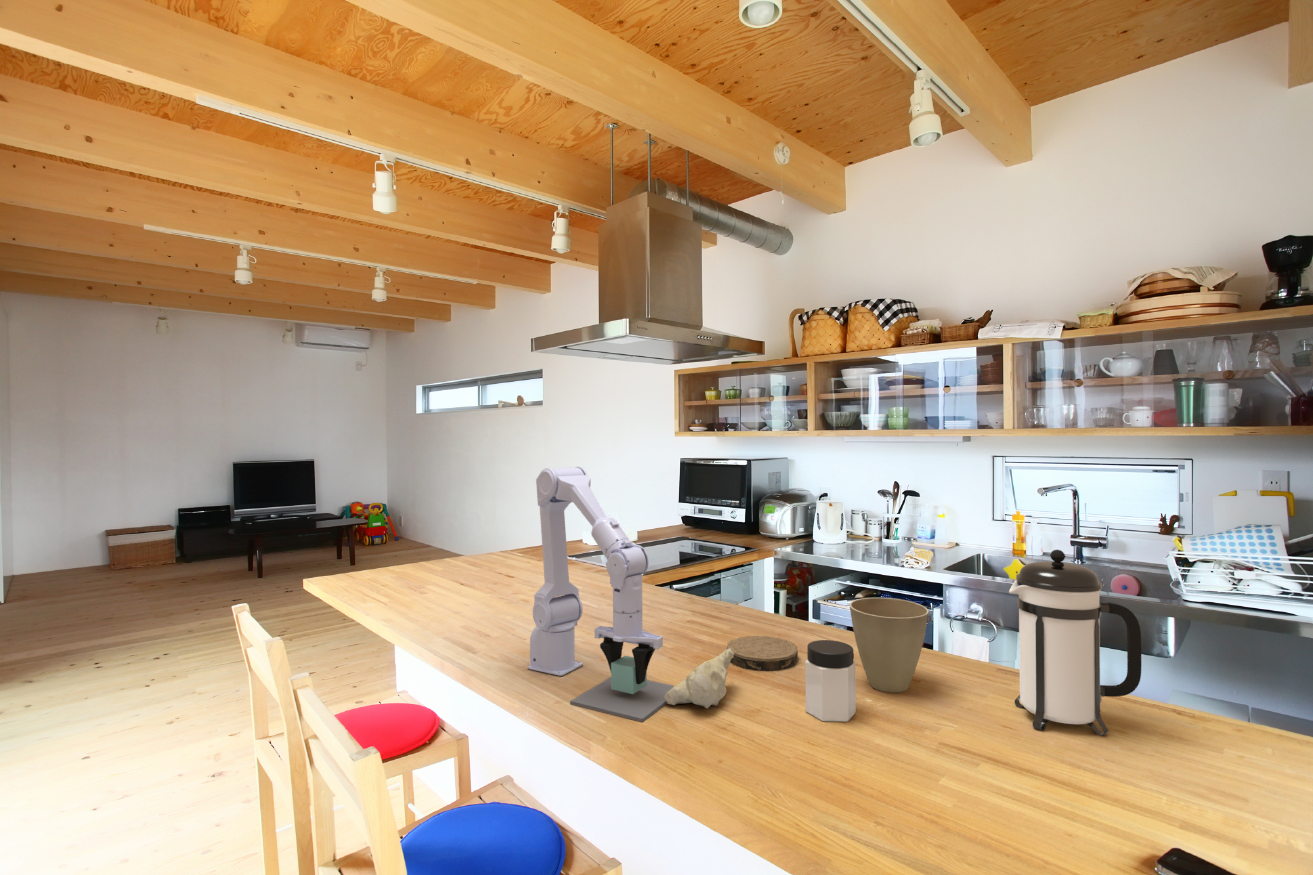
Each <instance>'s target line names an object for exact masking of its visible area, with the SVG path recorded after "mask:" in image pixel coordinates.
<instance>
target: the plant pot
mask: <svg viewBox="0 0 1313 875" xmlns="http://www.w3.org/2000/svg"><path fill="white" fill-rule="evenodd" d="M849 610H850V617H851V623H852V629H853V634H854V638H855V643H856V646H857V651H858V654H859V658H860V661H861V664H862V667H863V670H864V673H865V676H866V678H867V682H868V684H869V685H870V687H872V688H873V689H876V690H878V691H880V692H885V693H895V694H896V693H903V692H906V691H907V690H908V689H909V686H910V685H911V681H913V676H914V674H915V671H916V669H917V666H918V662H919V660H920V656H921V652H922V648H923V645H924V641H925V636H926V630H927V623H928V617H929V609H928V608H927V607H925V606H924V605H922V604H920V603H917V602H915V601H910V600H907V599H906V600H905V599H901V598H893V597H865V598H857V599H855V600H852V601H851V602H850V603H849Z"/></svg>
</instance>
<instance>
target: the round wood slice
mask: <svg viewBox="0 0 1313 875" xmlns="http://www.w3.org/2000/svg"><path fill="white" fill-rule="evenodd" d="M729 648H730V649H731V651H732V652H733V653H734V655H733V656H734V657H733V658H732V659H731V661H730V664H731V665H733V666H734V667H735V666H736V667H737V668H740V669H741V668H742V669H744V670H747V671H748V670H749V671H755V672H779V671H785V670H788V669H791V668H794V667H795V666H796V665H797V664H798V662H799V658H798V657H799V656H798V654H799V653H798V652H799V651H798V650H799V649H798V646H797V645H796V644H795V643H794V642H791V641H789V640H787V639H783V638H779V637H774V636H767V635H764V636H763V635H750V636H749V635H748V636H741V637H737V638H734V639H731V640H730V641H729V642H728V643H727V645H726V650H727V649H729Z"/></svg>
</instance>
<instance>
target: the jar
mask: <svg viewBox="0 0 1313 875" xmlns="http://www.w3.org/2000/svg"><path fill="white" fill-rule="evenodd" d="M806 648H807V655H806V656H807V659H806V660H805V663H804V664H805V665H804V667H805V669H804V670H805V676H804V677H805V711H806V713H808V714H810V715H811V716H813V717H814V718H816V719H818V720H820V721H822V722H839V723H845V722H848V723H849V721H850V720H851V719H852V717H853V716H854V715H855V714H856V712H857V706H856V705H857V704H856V703H857V702H856V701H857V700H856V699H857V698H856V696H857V695H856V694H857V693H856V692H857V691H856V686H857V685H856V679H857V678H856V661H854V658H855V654H854V647H853V646H852V645H850V644H848V643H846V642H844V641H843V642H842V641H838V640H832V639H820V640H818V639H817V640H813V641H811V642H809V643H808V644H807V647H806Z"/></svg>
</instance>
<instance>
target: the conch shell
mask: <svg viewBox="0 0 1313 875" xmlns="http://www.w3.org/2000/svg"><path fill="white" fill-rule="evenodd" d="M733 655H734V653H733V652H732V651H731V649H730V648H729V649H727V648H725V649H724V650H723V652H721V653H720V654H719V655H716V656H715V657H713V658H711V659H709V660H705V661H704V662H702V663H700V665H698V666H697V667H695V668H694V669H693V670H692V671H691V672H690V673H689V674H688V675H687V676H686V678H685V679H683V680H682V681H681V682H679V683H678V684H677V685H673V686H674V687H673V688H672V689H671V690H669V691H668V692H667V693H666V695H665V696H664V698H665V700H666V702H667V704H668V705H672V706H675V705H677V704H678V705H679V704H681V705H682V704H690V703H691V704H694V705H696V706H700V707H704V708H705V709H709V707H711V705H712V706H714V707H716V706H718V705H719V702H720V700H722V699H723V698H724V696H725V695H726V693H727V689H726V681H727V676H728V674H729V673H728V668H729V666H730V664H731V663H730V661H731V659H732V658H733V657H734V656H733Z"/></svg>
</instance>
